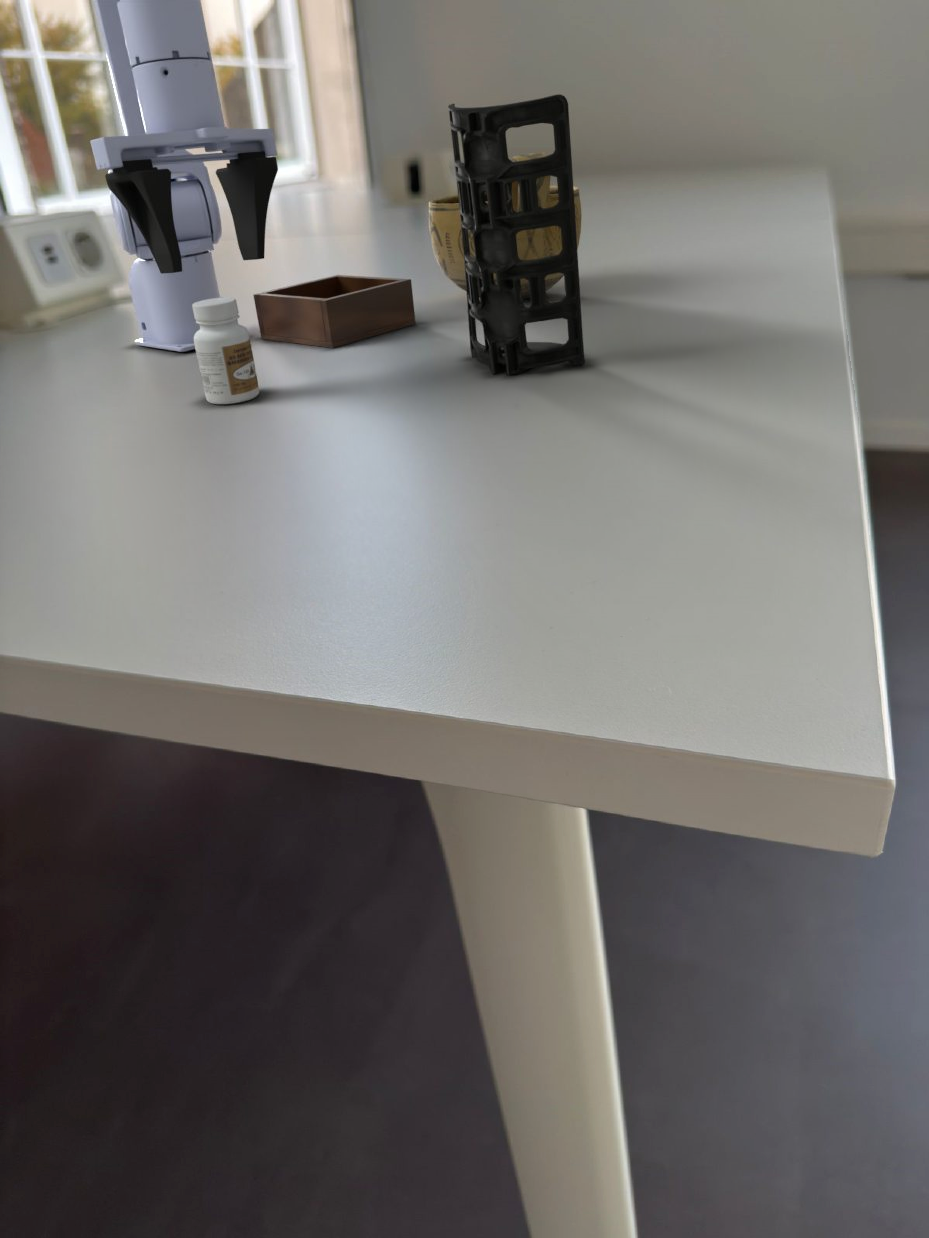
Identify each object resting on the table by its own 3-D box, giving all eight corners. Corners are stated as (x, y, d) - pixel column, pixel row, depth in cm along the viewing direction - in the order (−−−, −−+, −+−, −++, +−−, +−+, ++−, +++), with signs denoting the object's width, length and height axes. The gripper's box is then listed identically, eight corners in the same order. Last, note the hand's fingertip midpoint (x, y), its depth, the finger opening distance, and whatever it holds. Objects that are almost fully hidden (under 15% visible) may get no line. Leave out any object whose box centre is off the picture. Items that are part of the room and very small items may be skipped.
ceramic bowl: (613, 302, 100) (612, 145, 93) (459, 323, 97) (445, 163, 90) (550, 275, 119) (545, 143, 112) (419, 291, 117) (405, 157, 110)
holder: (602, 350, 80) (586, 85, 69) (573, 382, 75) (551, 100, 64) (484, 350, 85) (452, 101, 74) (449, 380, 79) (408, 116, 68)
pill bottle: (247, 405, 75) (228, 305, 72) (197, 406, 76) (175, 308, 73) (268, 390, 79) (250, 294, 76) (220, 391, 80) (200, 297, 76)
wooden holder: (260, 338, 99) (252, 294, 97) (343, 316, 106) (337, 274, 104) (332, 348, 92) (325, 300, 90) (415, 323, 99) (411, 279, 97)
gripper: (107, 54, 60) (159, 277, 66) (286, 56, 70) (318, 252, 75) (57, 73, 65) (110, 280, 71) (231, 73, 74) (265, 255, 80)
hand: (214, 266), depth 73 cm, fingers open, 7 cm apart
